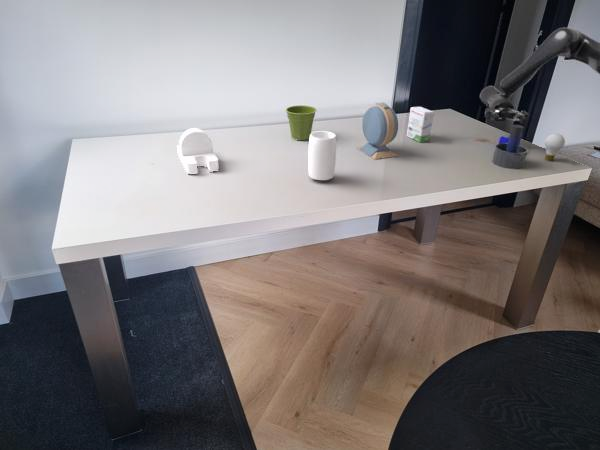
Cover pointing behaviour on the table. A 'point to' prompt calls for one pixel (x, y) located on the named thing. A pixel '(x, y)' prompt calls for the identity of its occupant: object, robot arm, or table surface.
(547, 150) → the light bulb
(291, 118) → the plant pot
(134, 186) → the table surface
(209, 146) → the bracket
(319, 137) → the cup
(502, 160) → the pen pot
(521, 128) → the marker
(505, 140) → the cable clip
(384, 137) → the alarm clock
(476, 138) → the coaster
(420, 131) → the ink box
